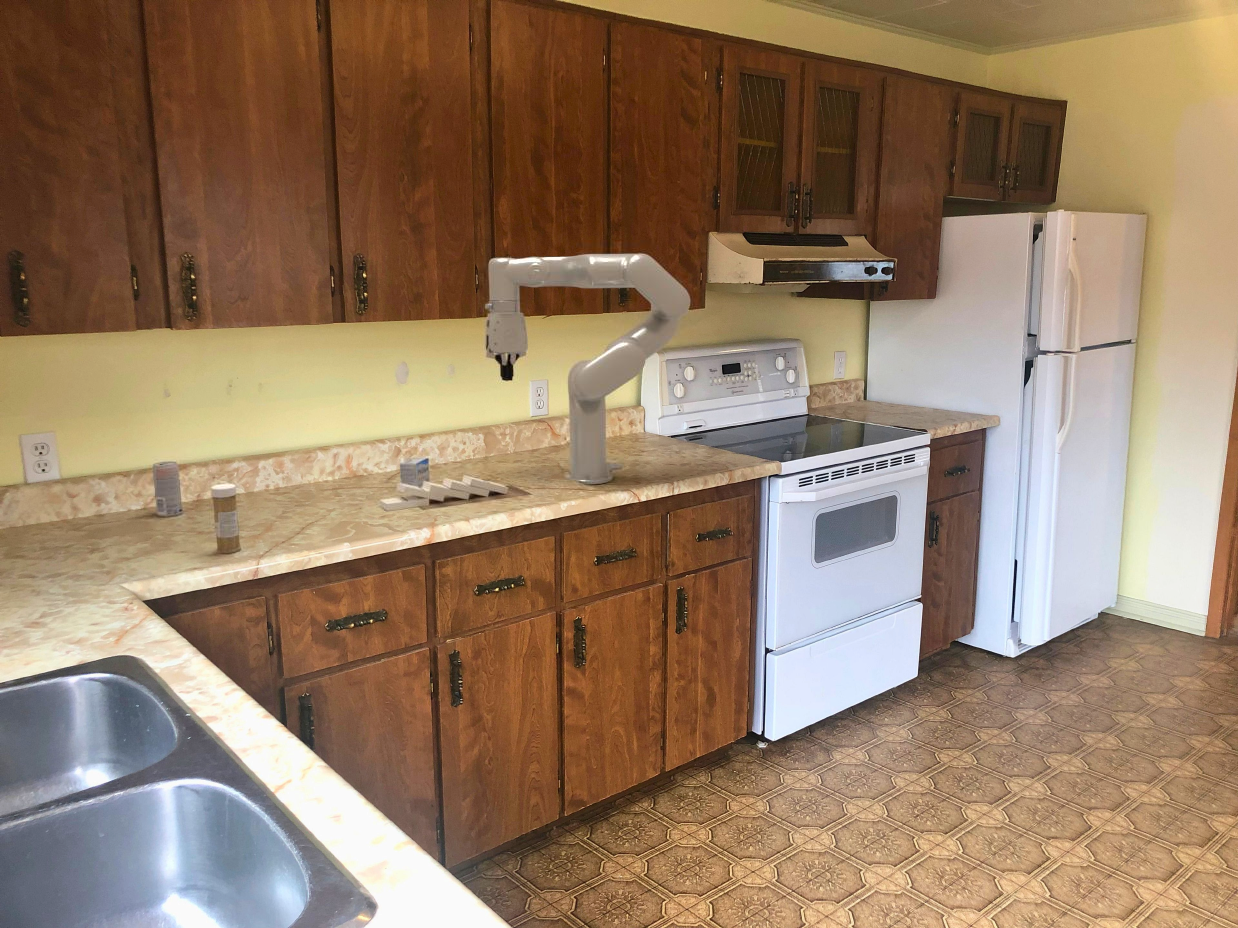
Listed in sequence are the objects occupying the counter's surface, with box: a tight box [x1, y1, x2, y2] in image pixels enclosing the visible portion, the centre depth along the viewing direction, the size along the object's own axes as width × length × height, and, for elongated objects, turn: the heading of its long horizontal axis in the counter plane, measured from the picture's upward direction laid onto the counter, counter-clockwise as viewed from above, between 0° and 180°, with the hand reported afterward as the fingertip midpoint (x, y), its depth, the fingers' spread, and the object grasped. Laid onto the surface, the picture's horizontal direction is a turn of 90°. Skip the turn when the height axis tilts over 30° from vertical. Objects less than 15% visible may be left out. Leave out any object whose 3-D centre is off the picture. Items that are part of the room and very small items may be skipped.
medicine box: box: [399, 457, 431, 487], centre depth 240 cm, size 8×4×9 cm, turn 168°
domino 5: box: [461, 474, 508, 494], centre depth 234 cm, size 2×5×10 cm
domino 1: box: [379, 495, 429, 512], centre depth 224 cm, size 2×5×10 cm
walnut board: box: [417, 484, 533, 511], centre depth 233 cm, size 28×12×1 cm, turn 122°
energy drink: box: [151, 461, 183, 518], centre depth 222 cm, size 5×5×12 cm
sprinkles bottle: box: [210, 483, 242, 554], centre depth 192 cm, size 5×5×14 cm
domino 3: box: [422, 481, 470, 500], centre depth 229 cm, size 2×5×10 cm
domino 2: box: [396, 482, 445, 501], centre depth 226 cm, size 2×5×10 cm
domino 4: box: [442, 477, 490, 497], centre depth 232 cm, size 2×5×10 cm
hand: (507, 380), depth 247 cm, fingers closed
